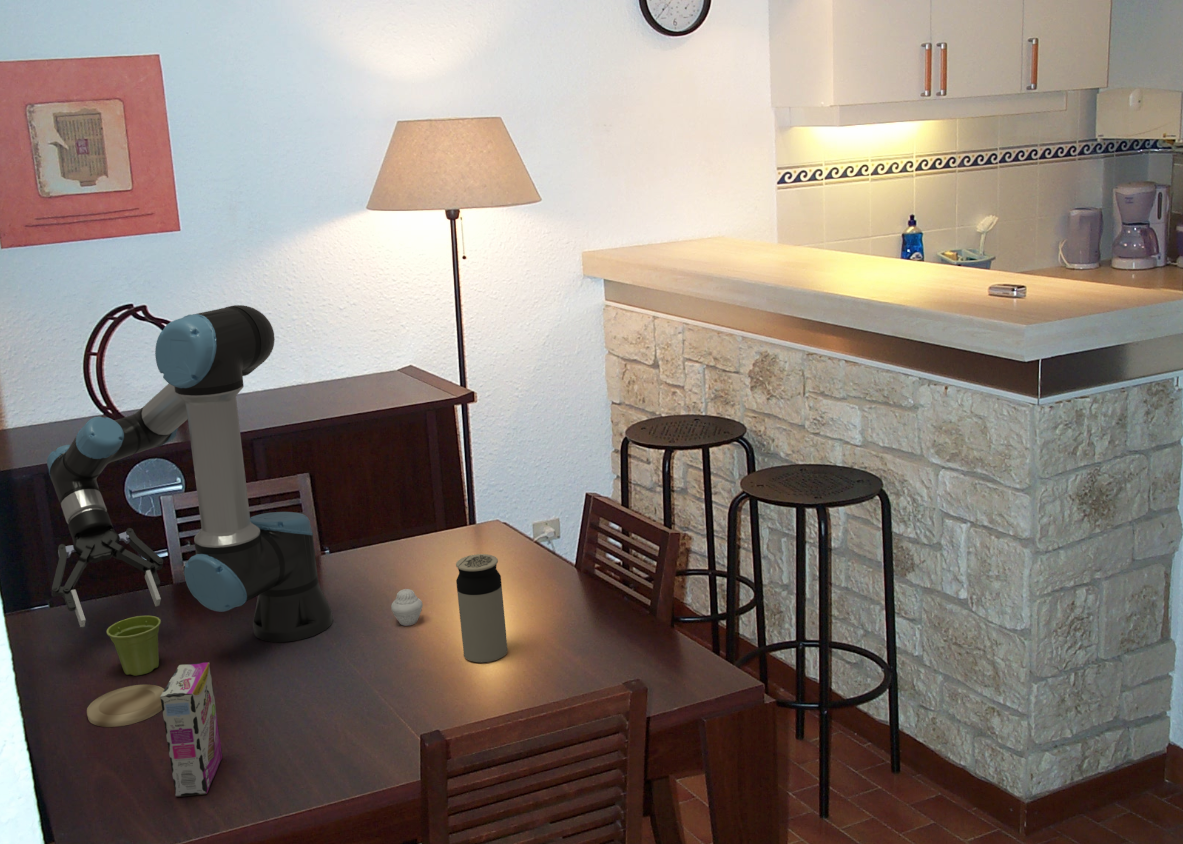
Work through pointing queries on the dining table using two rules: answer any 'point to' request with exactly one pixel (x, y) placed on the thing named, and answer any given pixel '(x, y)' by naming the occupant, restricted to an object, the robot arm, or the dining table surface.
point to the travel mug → (481, 608)
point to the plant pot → (136, 643)
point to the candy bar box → (191, 729)
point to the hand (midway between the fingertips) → (121, 613)
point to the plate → (125, 706)
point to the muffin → (406, 607)
